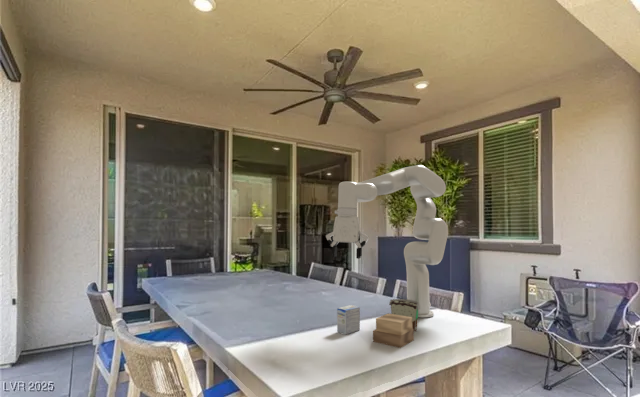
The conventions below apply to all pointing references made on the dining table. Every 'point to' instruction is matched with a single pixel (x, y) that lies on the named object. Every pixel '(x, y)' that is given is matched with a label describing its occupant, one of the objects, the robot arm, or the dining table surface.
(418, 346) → the dining table surface
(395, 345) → the tower base block
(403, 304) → the food container
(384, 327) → the tower top block
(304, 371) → the dining table surface
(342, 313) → the medicine box
